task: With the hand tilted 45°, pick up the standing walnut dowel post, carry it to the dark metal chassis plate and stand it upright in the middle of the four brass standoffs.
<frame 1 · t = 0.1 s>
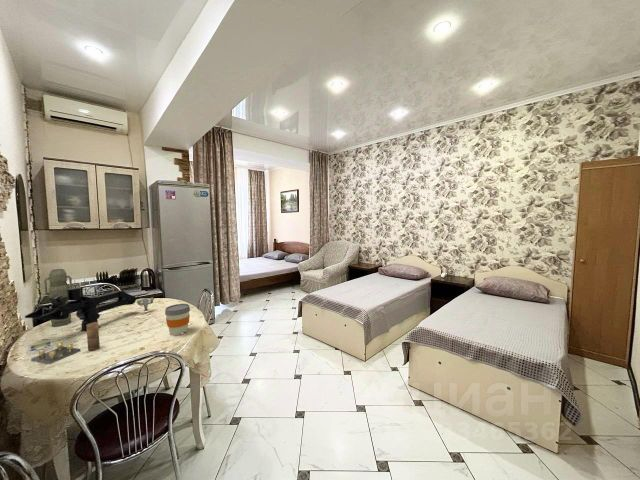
hand: (31, 317, 126), 17 cm above the table, tool horizontal, fingers open, 9 cm apart
walnut post: (94, 348, 127), on the table
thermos: (61, 324, 160), on the table
mechanical component: (146, 313, 179), on the table
chassis plate: (56, 355, 121), on the table
reusable coffee cup: (178, 332, 146), on the table
handheld gaming device: (40, 348, 129), on the table
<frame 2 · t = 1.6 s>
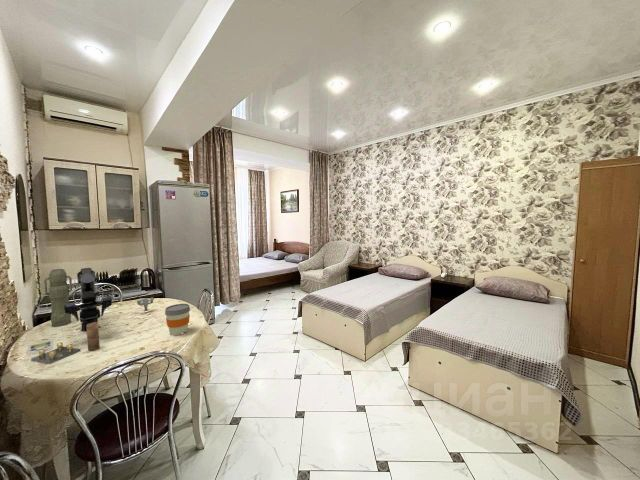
hand: (90, 318, 132), 14 cm above the table, tool tilted 45°, fingers open, 9 cm apart
nothing on the table moved.
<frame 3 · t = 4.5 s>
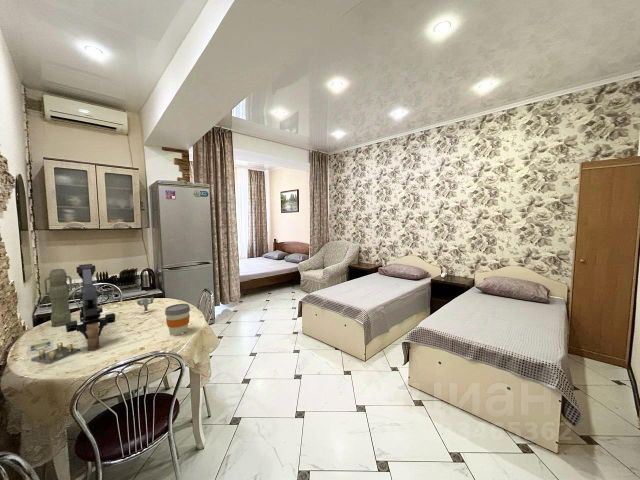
hand: (93, 337, 126), 7 cm above the table, tool tilted 45°, fingers closed on walnut post, 4 cm apart
walnut post: (94, 348, 127), on the table, touching gripper
everything else where it was.
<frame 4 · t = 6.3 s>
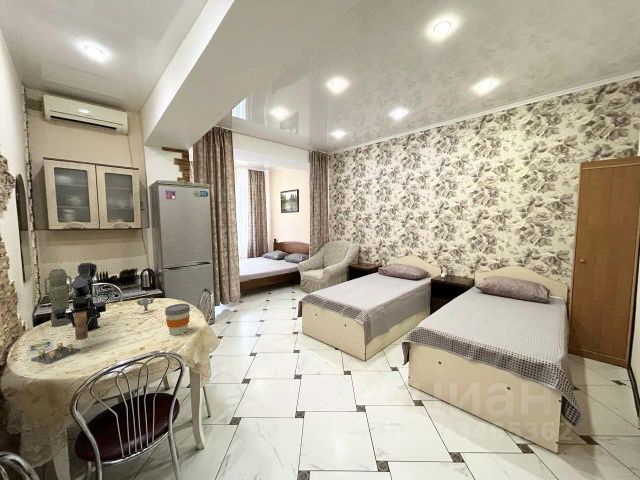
hand: (80, 325, 123), 13 cm above the table, tool tilted 45°, fingers closed on walnut post, 4 cm apart
walnut post: (82, 337, 125), point 7 cm above the table, touching gripper
everything else where it was.
when the fingers open (9 cm above the table, at t = 8.4 s): walnut post drops 1 cm, resting on chassis plate.
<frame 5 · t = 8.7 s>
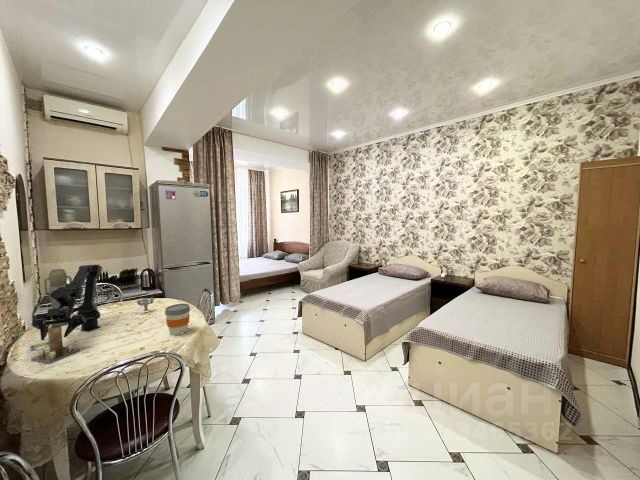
hand: (53, 338, 119), 9 cm above the table, tool tilted 45°, fingers open, 8 cm apart
walnut post: (56, 353, 121), point 1 cm above the table, touching chassis plate
everything else where it was.
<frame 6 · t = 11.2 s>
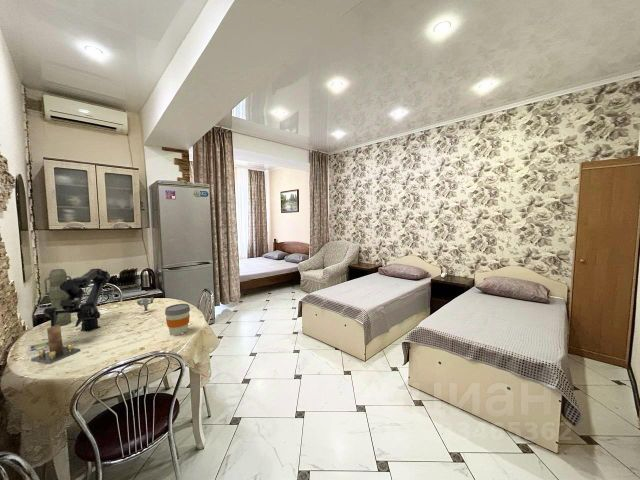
hand: (64, 327, 128), 11 cm above the table, tool tilted 40°, fingers open, 9 cm apart
nothing on the table moved.
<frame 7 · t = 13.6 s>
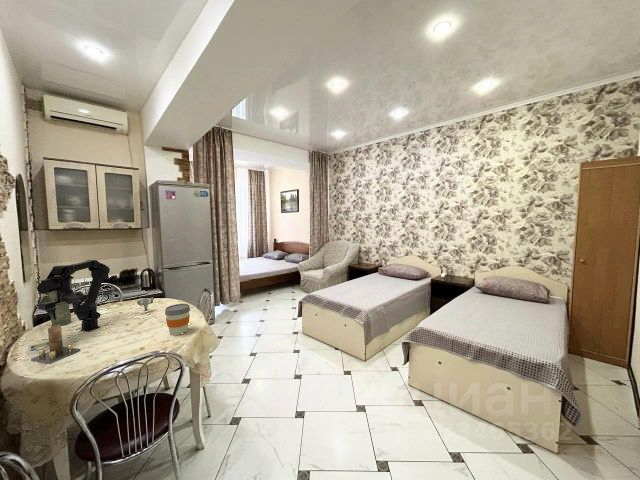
hand: (65, 317, 136), 13 cm above the table, tool pointing down, fingers open, 9 cm apart
nothing on the table moved.
at the end: walnut post 0.1 cm off-centre on the chassis plate, point 1.1 cm above the chassis plate's base; walnut post tilted 1°; the gripper is holding nothing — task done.
